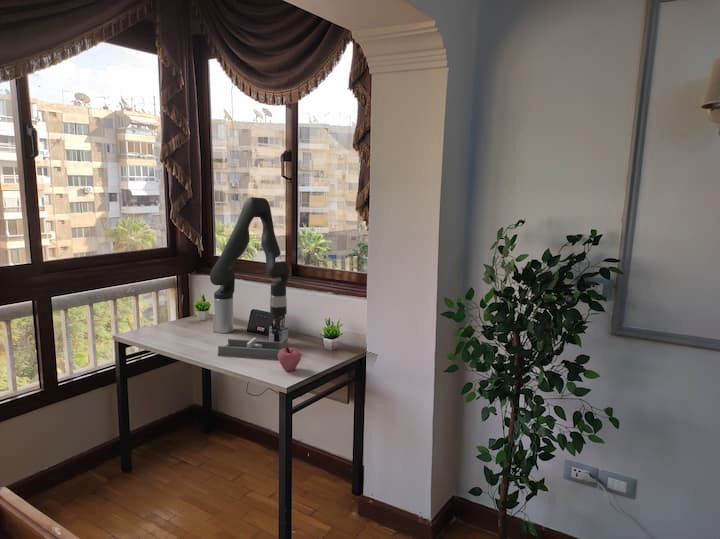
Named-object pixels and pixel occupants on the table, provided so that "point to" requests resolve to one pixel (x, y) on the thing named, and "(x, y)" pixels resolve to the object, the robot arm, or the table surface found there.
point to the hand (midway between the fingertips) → (278, 339)
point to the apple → (289, 358)
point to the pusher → (253, 344)
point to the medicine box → (282, 333)
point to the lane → (252, 349)
